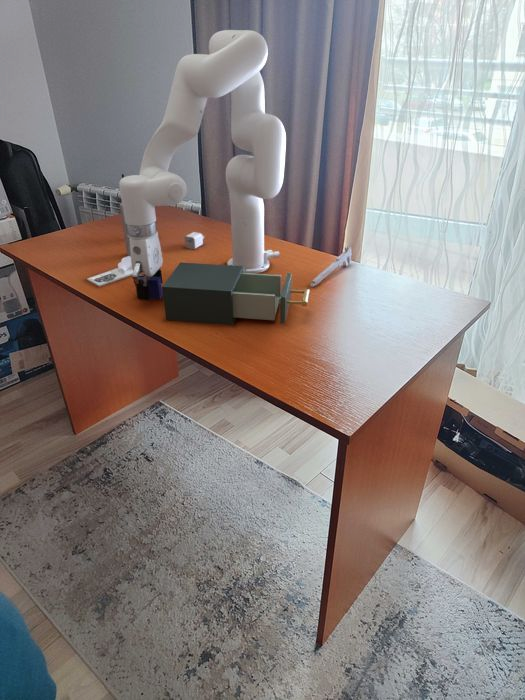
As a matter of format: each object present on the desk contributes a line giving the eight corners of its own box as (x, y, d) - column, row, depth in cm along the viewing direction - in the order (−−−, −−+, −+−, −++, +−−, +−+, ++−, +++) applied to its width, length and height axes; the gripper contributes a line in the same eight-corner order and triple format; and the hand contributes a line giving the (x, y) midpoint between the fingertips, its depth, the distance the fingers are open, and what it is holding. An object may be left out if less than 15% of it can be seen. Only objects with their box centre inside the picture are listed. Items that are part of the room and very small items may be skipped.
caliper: (347, 264, 151) (349, 244, 148) (350, 264, 151) (352, 245, 147) (309, 286, 138) (310, 265, 134) (312, 287, 137) (313, 266, 134)
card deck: (162, 295, 134) (160, 276, 131) (159, 299, 132) (157, 280, 129) (141, 293, 135) (138, 275, 132) (138, 297, 133) (135, 279, 130)
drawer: (309, 299, 129) (311, 274, 125) (305, 325, 118) (306, 298, 114) (232, 294, 132) (231, 269, 128) (220, 319, 121) (219, 292, 117)
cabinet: (244, 297, 132) (243, 266, 128) (232, 325, 120) (231, 291, 115) (183, 293, 135) (180, 262, 130) (165, 319, 122) (161, 286, 118)
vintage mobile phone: (143, 257, 156) (131, 175, 143) (127, 257, 156) (114, 175, 143) (146, 253, 159) (134, 172, 146) (130, 253, 159) (117, 172, 146)
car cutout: (131, 264, 152) (129, 250, 149) (144, 270, 148) (142, 256, 145) (87, 280, 142) (83, 265, 140) (99, 286, 139) (96, 271, 136)
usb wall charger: (185, 247, 163) (184, 235, 161) (197, 240, 169) (197, 229, 166) (195, 249, 162) (194, 237, 160) (207, 242, 167) (206, 231, 165)
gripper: (143, 241, 116) (153, 307, 125) (167, 218, 130) (174, 278, 139) (113, 240, 117) (124, 305, 126) (139, 216, 131) (148, 276, 140)
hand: (150, 291), depth 133 cm, fingers open, 9 cm apart
